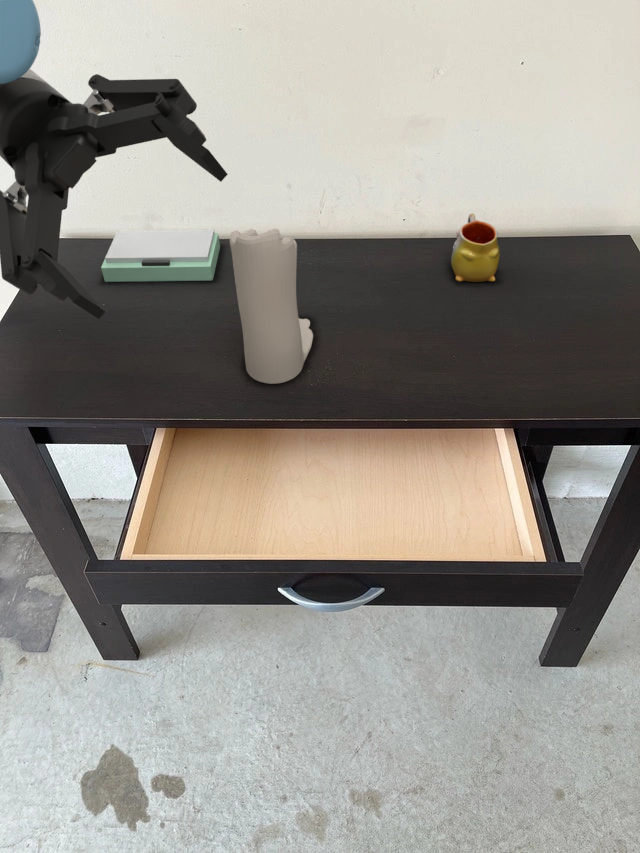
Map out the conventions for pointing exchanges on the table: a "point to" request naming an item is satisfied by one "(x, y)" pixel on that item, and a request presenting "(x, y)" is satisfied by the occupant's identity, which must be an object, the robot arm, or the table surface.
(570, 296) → the table surface
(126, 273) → the scale
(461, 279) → the mug
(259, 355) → the candle
